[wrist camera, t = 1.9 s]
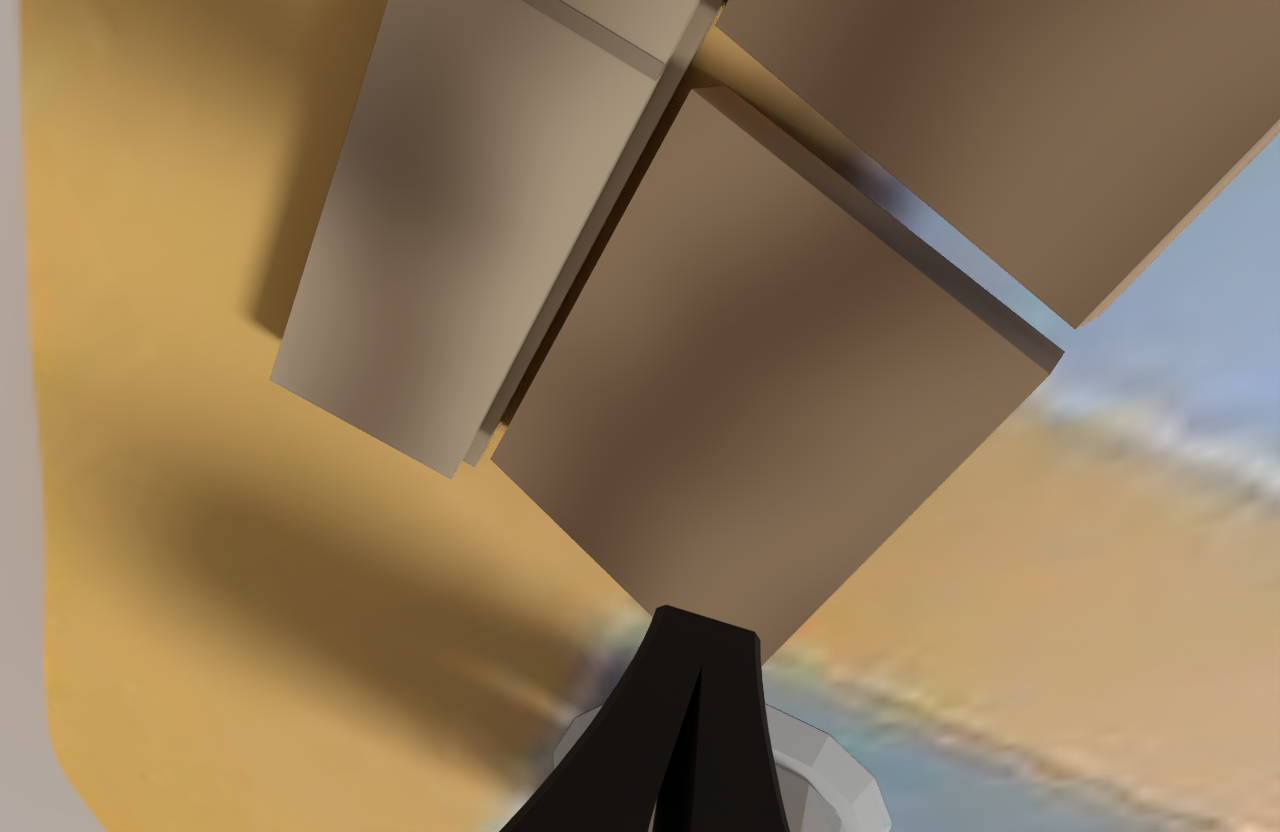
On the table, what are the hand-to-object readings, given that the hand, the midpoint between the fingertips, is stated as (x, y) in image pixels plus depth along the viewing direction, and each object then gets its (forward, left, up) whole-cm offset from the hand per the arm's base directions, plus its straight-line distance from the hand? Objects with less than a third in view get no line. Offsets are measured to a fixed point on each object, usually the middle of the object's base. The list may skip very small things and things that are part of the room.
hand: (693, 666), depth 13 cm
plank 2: (0, 0, -6) cm, 6 cm away
